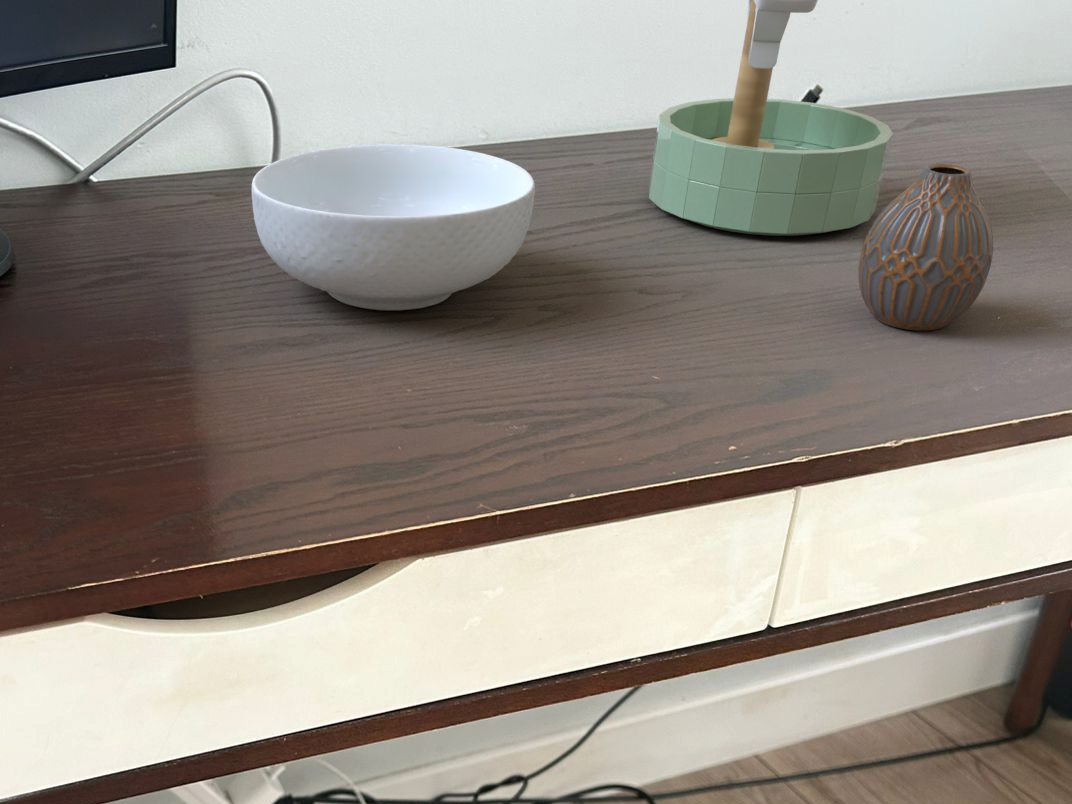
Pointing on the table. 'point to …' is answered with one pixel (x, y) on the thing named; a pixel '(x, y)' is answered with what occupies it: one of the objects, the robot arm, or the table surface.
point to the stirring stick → (749, 98)
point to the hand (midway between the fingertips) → (758, 61)
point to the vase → (927, 252)
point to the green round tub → (770, 168)
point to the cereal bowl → (392, 220)
